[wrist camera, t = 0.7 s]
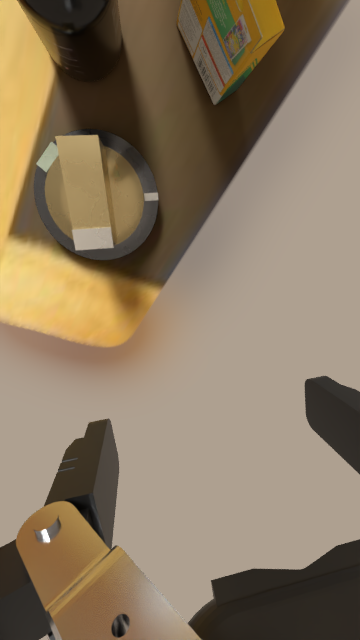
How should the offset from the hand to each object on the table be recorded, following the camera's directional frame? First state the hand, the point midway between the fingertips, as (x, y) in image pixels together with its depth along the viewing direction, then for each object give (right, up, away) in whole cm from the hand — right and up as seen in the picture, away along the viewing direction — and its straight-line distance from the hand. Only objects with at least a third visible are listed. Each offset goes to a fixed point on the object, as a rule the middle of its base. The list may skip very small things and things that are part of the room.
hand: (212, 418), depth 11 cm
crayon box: (+1, +29, +16) cm, 33 cm away
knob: (-10, +16, +16) cm, 25 cm away
